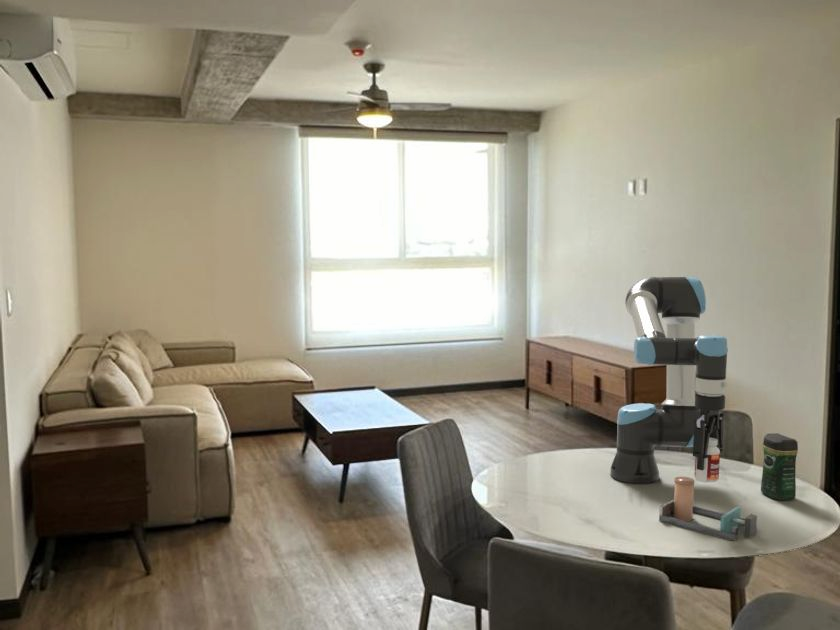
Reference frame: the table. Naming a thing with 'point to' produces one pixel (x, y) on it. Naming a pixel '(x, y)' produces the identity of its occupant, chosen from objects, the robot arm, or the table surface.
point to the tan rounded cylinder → (683, 498)
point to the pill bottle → (712, 461)
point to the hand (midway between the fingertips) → (706, 478)
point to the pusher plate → (734, 520)
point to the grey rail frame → (668, 511)
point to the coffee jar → (779, 466)
